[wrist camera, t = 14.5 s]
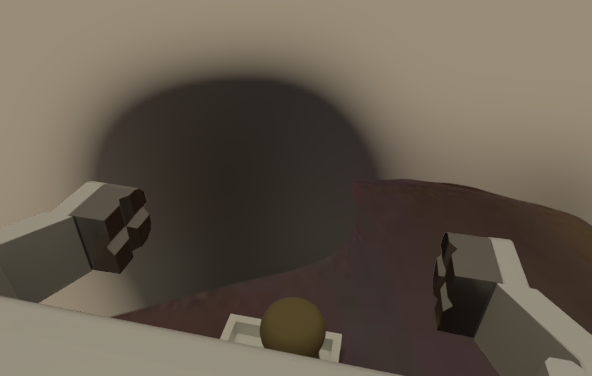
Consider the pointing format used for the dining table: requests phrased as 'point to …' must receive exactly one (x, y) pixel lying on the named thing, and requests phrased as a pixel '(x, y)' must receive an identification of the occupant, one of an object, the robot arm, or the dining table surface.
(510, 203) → the dining table surface
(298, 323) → the cork
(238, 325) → the tray
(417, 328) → the dining table surface
